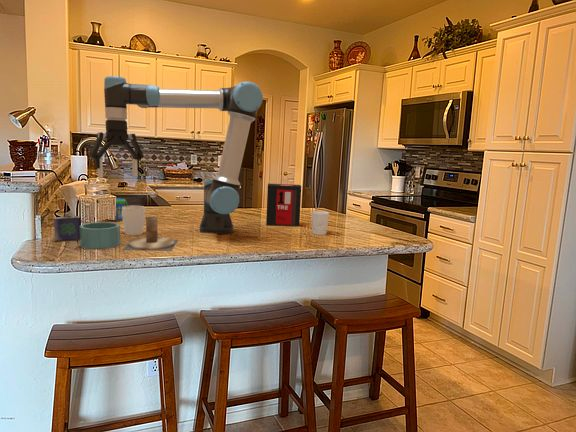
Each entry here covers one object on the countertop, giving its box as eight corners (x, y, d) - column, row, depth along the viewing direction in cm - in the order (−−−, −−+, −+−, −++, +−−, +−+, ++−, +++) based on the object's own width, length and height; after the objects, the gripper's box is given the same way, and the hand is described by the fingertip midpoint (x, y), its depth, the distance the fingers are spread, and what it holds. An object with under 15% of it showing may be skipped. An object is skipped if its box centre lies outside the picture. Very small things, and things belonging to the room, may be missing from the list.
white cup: (330, 233, 199) (331, 212, 197) (324, 236, 192) (325, 214, 190) (314, 231, 202) (315, 210, 200) (308, 234, 195) (309, 212, 193)
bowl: (123, 243, 163) (123, 222, 161) (113, 251, 150) (113, 229, 148) (88, 242, 161) (87, 221, 160) (75, 251, 148) (74, 228, 147)
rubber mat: (178, 242, 168) (178, 239, 168) (171, 253, 151) (171, 250, 151) (133, 241, 166) (133, 239, 166) (122, 252, 149) (121, 249, 149)
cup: (137, 238, 171) (137, 209, 169) (117, 236, 172) (117, 207, 170) (149, 234, 179) (149, 206, 177) (130, 232, 181) (129, 204, 179)
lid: (177, 240, 167) (177, 214, 165) (170, 250, 151) (170, 222, 150) (134, 239, 165) (134, 213, 164) (123, 249, 150) (123, 221, 148)
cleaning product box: (266, 225, 211) (267, 185, 208) (266, 222, 220) (267, 183, 216) (299, 226, 212) (301, 186, 208) (298, 223, 220) (300, 184, 217)
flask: (54, 241, 160) (53, 213, 158) (54, 240, 162) (53, 212, 161) (81, 240, 165) (81, 212, 163) (81, 238, 167) (80, 211, 165)
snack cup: (121, 216, 216) (121, 197, 214) (135, 219, 210) (134, 199, 208) (93, 220, 203) (92, 199, 201) (106, 223, 197) (106, 202, 195)
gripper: (142, 121, 170) (143, 174, 174) (77, 117, 152) (80, 177, 156) (152, 121, 165) (153, 176, 169) (86, 117, 147) (88, 178, 151)
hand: (118, 176), depth 163 cm, fingers open, 13 cm apart
